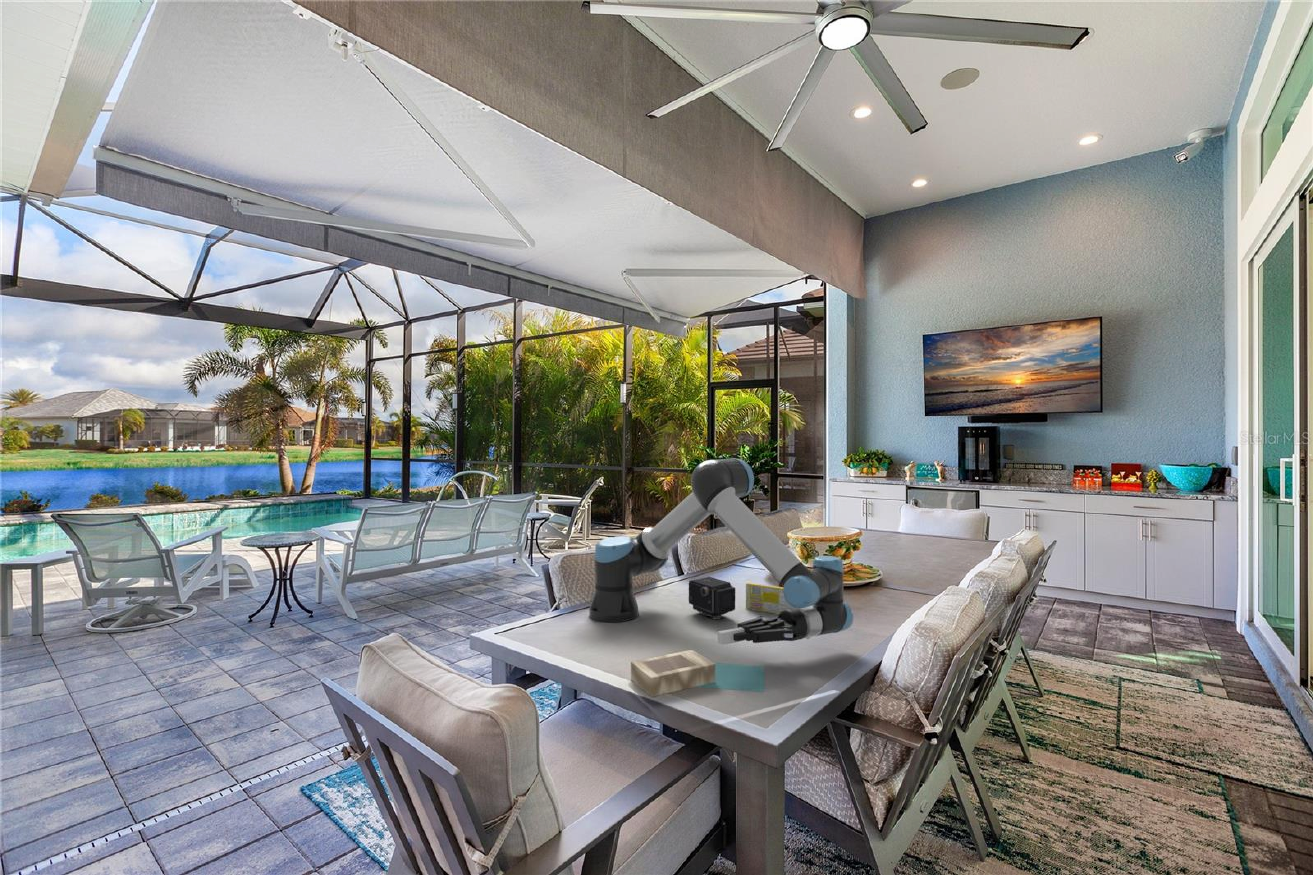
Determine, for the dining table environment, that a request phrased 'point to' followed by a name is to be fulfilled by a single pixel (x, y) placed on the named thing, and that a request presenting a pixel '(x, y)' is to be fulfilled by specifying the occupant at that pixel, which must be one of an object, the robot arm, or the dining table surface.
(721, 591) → the camera
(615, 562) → the robot arm
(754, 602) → the candy box
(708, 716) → the dining table surface
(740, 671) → the mat
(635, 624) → the dining table surface
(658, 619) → the dining table surface
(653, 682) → the light brown rectangular block
